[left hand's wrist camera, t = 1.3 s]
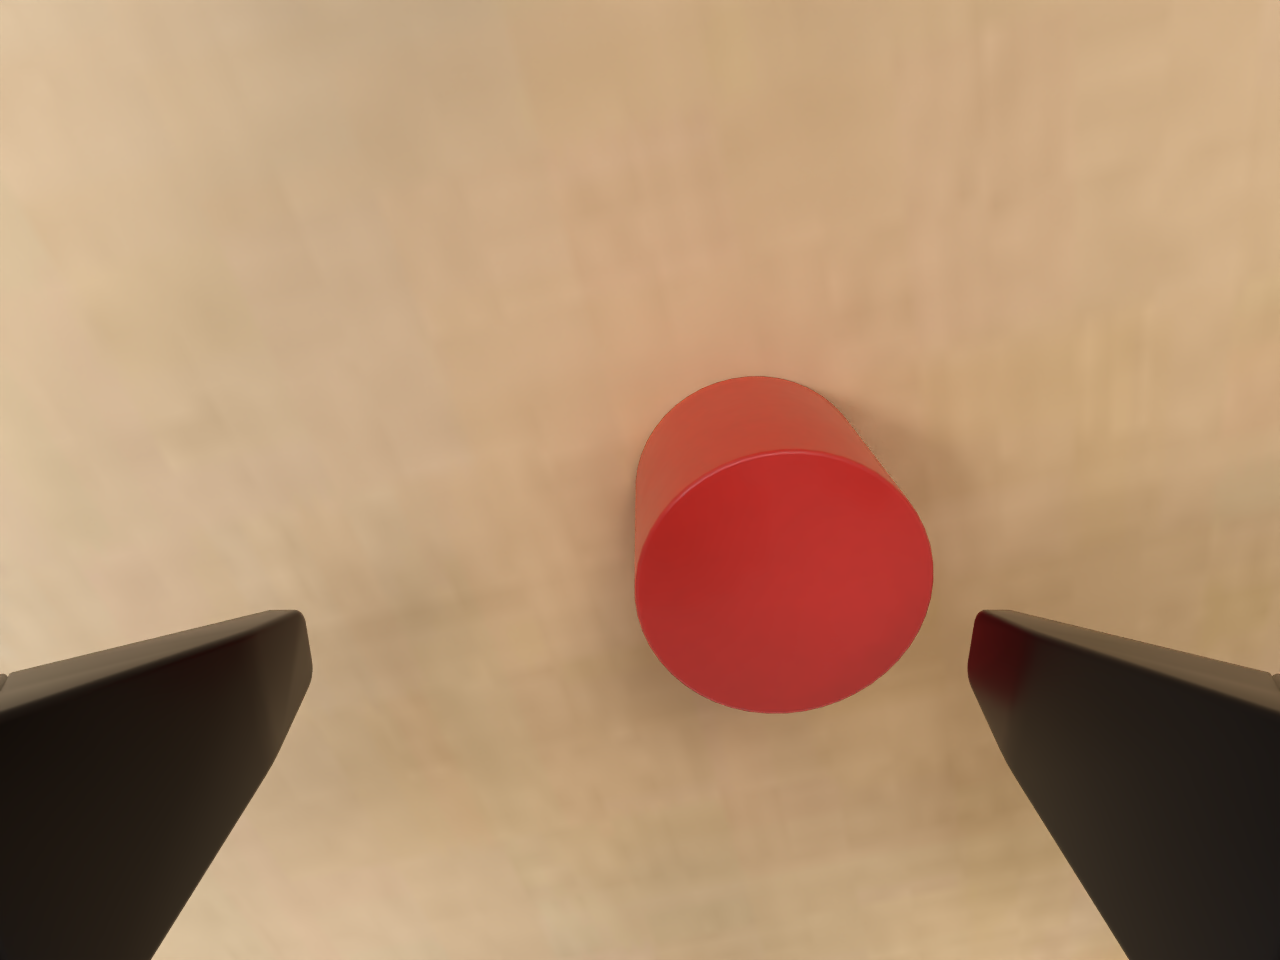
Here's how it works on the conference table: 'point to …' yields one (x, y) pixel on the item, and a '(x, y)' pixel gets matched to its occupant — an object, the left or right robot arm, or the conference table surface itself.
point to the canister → (773, 550)
